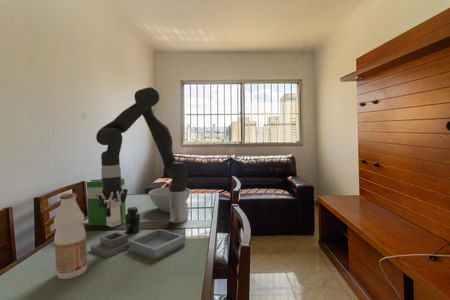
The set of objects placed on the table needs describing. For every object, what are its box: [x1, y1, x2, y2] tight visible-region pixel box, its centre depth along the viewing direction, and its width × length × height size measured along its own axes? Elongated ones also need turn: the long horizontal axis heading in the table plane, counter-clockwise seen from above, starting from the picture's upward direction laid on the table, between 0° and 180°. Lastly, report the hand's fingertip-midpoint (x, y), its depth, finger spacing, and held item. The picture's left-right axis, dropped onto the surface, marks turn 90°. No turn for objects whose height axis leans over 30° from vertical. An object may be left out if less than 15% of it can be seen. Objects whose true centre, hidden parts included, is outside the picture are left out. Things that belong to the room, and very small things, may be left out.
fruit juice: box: [53, 192, 88, 280], centre depth 89 cm, size 9×9×28 cm
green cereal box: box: [85, 178, 127, 227], centre depth 141 cm, size 18×7×24 cm, turn 98°
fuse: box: [105, 200, 122, 228], centre depth 109 cm, size 4×4×10 cm
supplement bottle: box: [125, 206, 141, 235], centre depth 128 cm, size 7×7×12 cm
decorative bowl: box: [148, 186, 191, 213], centre depth 166 cm, size 27×27×12 cm
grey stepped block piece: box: [90, 231, 133, 258], centre depth 109 cm, size 14×12×5 cm
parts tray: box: [128, 228, 186, 261], centre depth 109 cm, size 16×16×4 cm
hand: (113, 214), depth 109 cm, fingers closed on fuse, 4 cm apart
